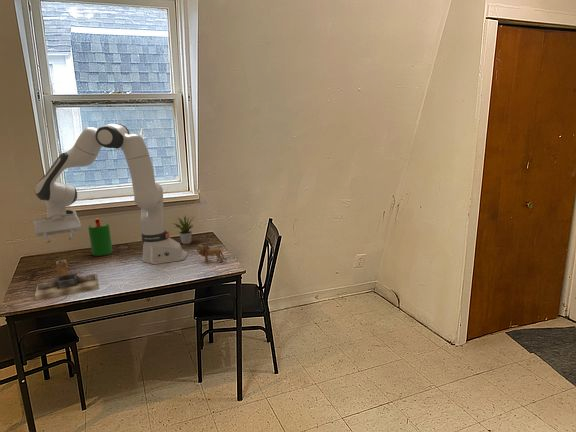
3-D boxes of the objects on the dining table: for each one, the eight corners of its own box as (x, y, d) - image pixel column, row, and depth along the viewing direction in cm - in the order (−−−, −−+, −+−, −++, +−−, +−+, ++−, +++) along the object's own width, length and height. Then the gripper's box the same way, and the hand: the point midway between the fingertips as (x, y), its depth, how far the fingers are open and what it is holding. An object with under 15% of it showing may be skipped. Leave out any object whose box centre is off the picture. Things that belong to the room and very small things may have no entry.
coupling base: (97, 277, 197) (96, 267, 196) (98, 288, 184) (97, 277, 183) (38, 288, 187) (36, 277, 186) (35, 300, 175) (33, 289, 173)
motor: (111, 249, 237) (106, 214, 232) (114, 253, 230) (109, 217, 225) (91, 252, 232) (86, 217, 227) (93, 257, 225) (88, 220, 220)
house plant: (193, 236, 256) (190, 210, 252) (204, 241, 246) (202, 214, 242) (171, 242, 247) (168, 214, 243) (182, 247, 237) (179, 218, 233)
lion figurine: (196, 263, 211) (195, 246, 209) (198, 260, 216) (197, 243, 214) (226, 262, 211) (225, 245, 209) (227, 258, 216) (226, 242, 214)
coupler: (68, 275, 201) (65, 259, 199) (68, 278, 197) (65, 261, 195) (59, 277, 199) (56, 260, 197) (58, 280, 195) (55, 263, 193)
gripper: (31, 215, 204) (33, 240, 198) (78, 210, 213) (81, 234, 207) (34, 222, 209) (36, 247, 203) (80, 217, 218) (83, 240, 212)
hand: (59, 240), depth 205 cm, fingers open, 8 cm apart
